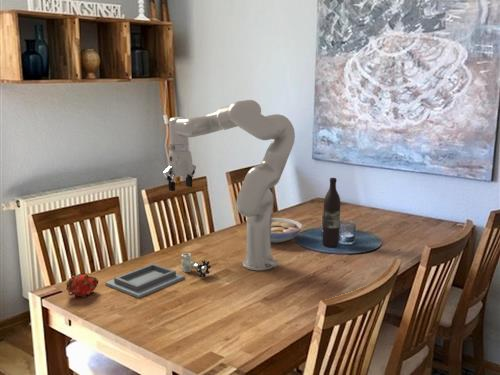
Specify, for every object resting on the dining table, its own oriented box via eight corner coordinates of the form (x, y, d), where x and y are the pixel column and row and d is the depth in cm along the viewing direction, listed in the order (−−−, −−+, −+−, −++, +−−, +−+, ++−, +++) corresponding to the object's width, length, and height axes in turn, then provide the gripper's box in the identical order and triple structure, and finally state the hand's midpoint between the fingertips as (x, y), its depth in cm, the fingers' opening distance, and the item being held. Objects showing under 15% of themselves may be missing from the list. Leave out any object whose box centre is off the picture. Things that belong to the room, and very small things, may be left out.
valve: (176, 271, 208) (198, 280, 201) (176, 255, 207) (198, 263, 199) (189, 267, 213) (211, 274, 205) (189, 251, 212) (210, 258, 204)
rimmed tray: (184, 278, 201) (184, 271, 201) (138, 298, 185) (138, 290, 184) (151, 267, 212) (151, 260, 212) (105, 284, 195) (105, 277, 195)
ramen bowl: (294, 252, 229) (294, 234, 228) (243, 246, 237) (243, 228, 235) (307, 235, 252) (308, 218, 251) (260, 230, 260) (260, 213, 258)
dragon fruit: (63, 304, 183) (96, 299, 192) (73, 296, 178) (107, 291, 186) (58, 280, 186) (91, 276, 194) (68, 271, 181) (101, 267, 189)
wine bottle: (320, 246, 237) (323, 179, 230) (324, 241, 243) (327, 176, 237) (336, 248, 234) (339, 180, 228) (340, 243, 241) (343, 177, 234)
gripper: (169, 151, 213) (171, 193, 217) (201, 146, 226) (201, 186, 230) (157, 149, 218) (158, 191, 221) (188, 144, 230) (189, 183, 234)
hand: (180, 188), depth 225 cm, fingers open, 9 cm apart
